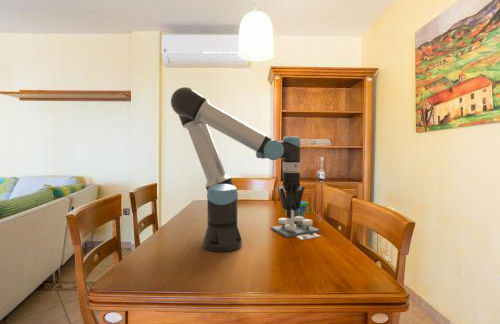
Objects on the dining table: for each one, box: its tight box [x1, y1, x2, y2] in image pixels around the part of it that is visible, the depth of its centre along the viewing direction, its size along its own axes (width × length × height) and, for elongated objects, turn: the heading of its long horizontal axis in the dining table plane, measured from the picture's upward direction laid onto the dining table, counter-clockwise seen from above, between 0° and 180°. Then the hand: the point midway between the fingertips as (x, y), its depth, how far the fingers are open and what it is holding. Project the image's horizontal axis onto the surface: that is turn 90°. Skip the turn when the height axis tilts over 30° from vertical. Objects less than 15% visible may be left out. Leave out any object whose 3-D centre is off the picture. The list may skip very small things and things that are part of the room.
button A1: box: [285, 223, 296, 232], centre depth 125 cm, size 5×5×3 cm
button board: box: [271, 222, 321, 238], centre depth 130 cm, size 18×13×1 cm
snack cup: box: [282, 200, 312, 223], centre depth 147 cm, size 16×10×10 cm
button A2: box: [277, 217, 288, 227], centre depth 130 cm, size 5×5×3 cm
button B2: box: [294, 216, 304, 225], centre depth 134 cm, size 5×5×3 cm
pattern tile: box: [295, 233, 322, 241], centre depth 120 cm, size 10×4×1 cm, turn 115°
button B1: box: [301, 218, 314, 228], centre depth 128 cm, size 5×5×3 cm
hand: (291, 224), depth 125 cm, fingers closed
